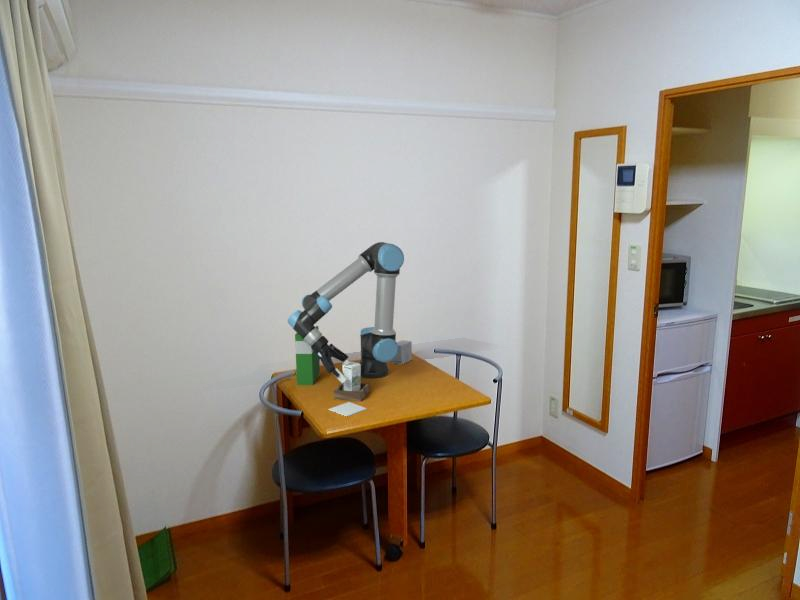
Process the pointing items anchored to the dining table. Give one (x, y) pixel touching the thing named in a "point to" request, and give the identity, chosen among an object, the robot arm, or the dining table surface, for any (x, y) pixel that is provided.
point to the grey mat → (347, 409)
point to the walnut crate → (351, 393)
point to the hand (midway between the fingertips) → (350, 376)
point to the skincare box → (403, 352)
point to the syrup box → (352, 376)
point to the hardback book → (306, 362)
